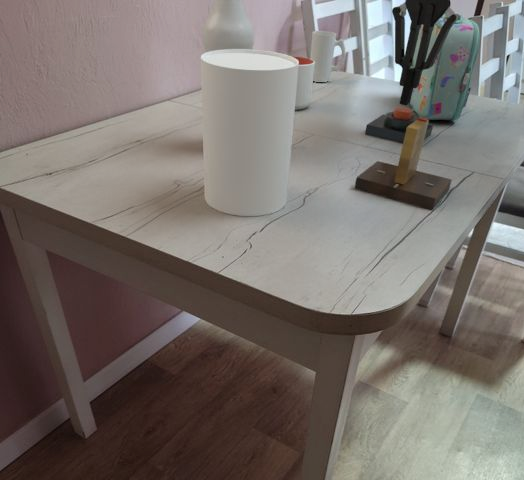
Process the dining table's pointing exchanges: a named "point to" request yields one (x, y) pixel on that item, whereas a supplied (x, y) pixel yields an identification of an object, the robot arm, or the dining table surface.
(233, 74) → the canister
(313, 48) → the mug
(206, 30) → the white bottle
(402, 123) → the push button base
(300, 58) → the cup
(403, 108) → the bell button
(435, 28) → the lunch box
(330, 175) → the dining table surface
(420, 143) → the block
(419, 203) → the plate
